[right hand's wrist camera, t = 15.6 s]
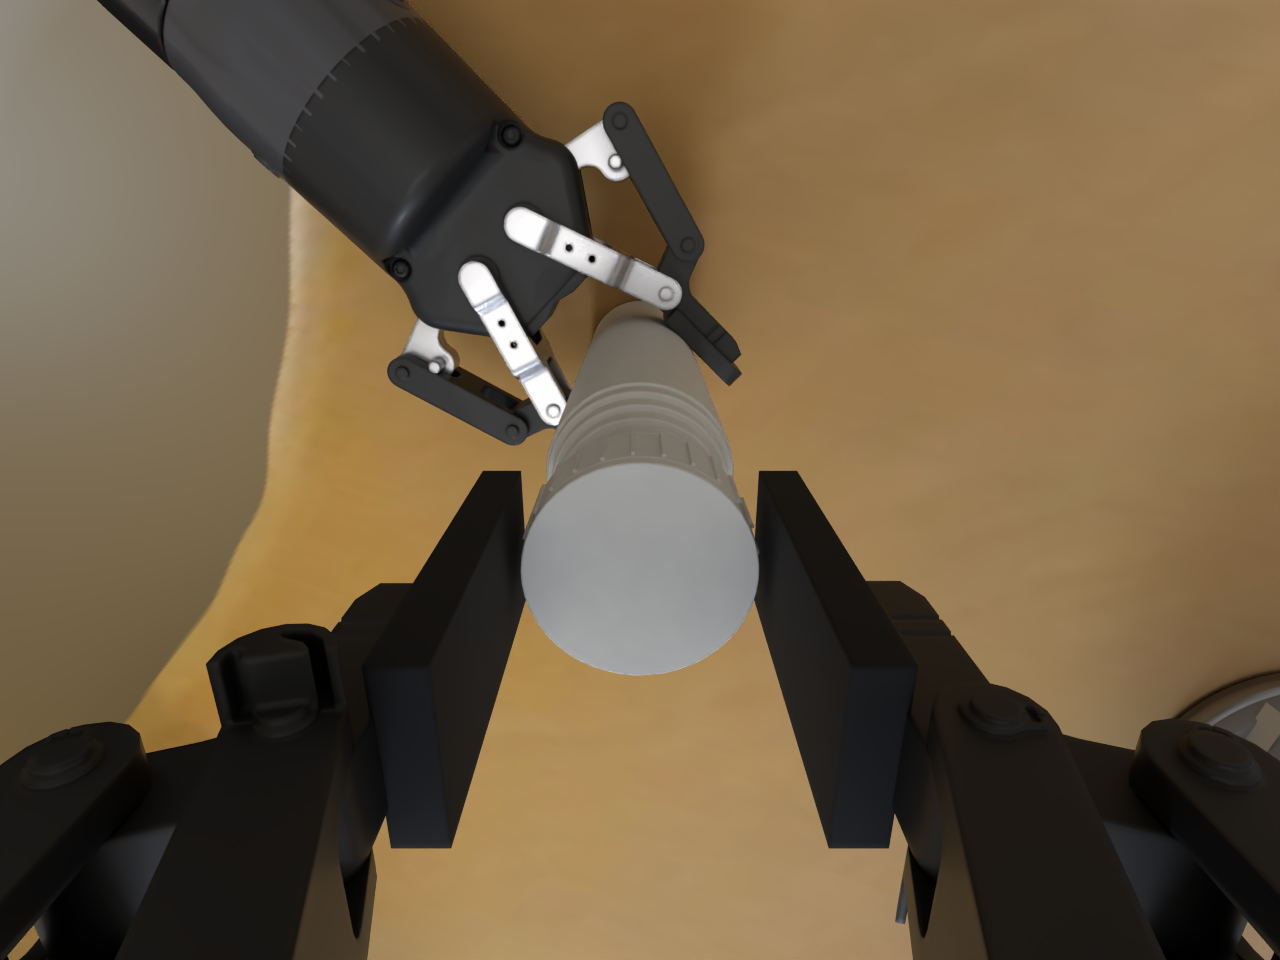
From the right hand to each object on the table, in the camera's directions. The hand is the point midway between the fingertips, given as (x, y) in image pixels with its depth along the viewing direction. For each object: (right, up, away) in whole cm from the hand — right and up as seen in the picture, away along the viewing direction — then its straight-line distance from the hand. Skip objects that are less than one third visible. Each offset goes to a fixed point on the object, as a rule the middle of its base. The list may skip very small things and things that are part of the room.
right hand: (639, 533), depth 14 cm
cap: (0, -1, -1) cm, 1 cm away
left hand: (+2, +4, +15) cm, 15 cm away
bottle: (0, +8, +20) cm, 22 cm away
